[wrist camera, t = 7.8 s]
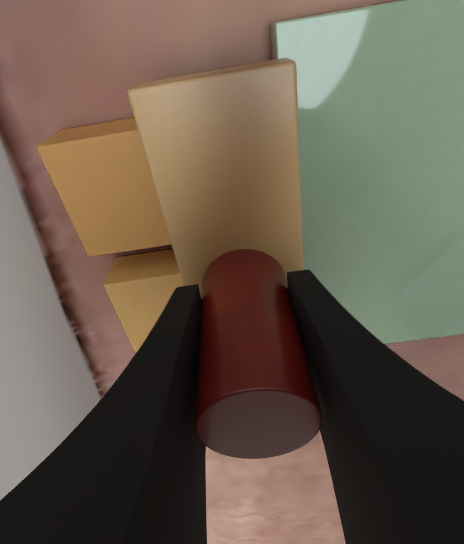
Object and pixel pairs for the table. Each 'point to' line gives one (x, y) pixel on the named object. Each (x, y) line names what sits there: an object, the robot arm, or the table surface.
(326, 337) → the robot arm
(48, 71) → the table surface
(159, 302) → the biscuit
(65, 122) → the table surface
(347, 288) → the tile
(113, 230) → the biscuit
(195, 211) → the brush
